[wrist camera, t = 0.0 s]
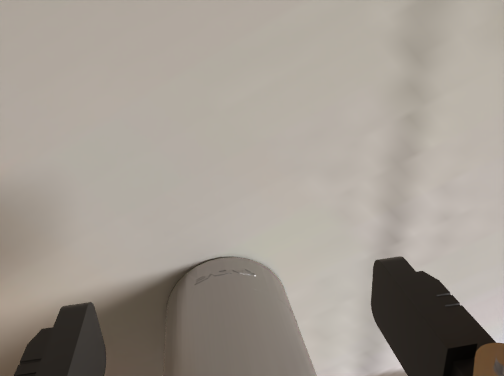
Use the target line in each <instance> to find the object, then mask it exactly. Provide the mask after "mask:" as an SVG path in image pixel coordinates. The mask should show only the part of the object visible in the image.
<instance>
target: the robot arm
mask: <svg viewBox="0 0 504 376" xmlns="http://www.w3.org/2000/svg"><path fill="white" fill-rule="evenodd" d="M371 308H372V313H373V317H374V320H375V322H376V324H377V326H378V327H379V329H380V331H381V332H382V334H383V336H384V337H385V339H386V341H387V342H388V344H389V345H390V347H391V349H392V350H393V352H394V354H395V355H396V357H397V359H398V360H399V362H400V364H401V365H402V367H403V369H404V370H405V372H406V374H407V375H408V376H504V343H496V342H495V341H494V340H493V339H492V338H491V337H490V335H489V334H488V333H487V332H486V331H485V330H484V329H483V328H482V327H481V326H480V325H479V323H478V322H477V321H476V320H475V319H474V318H473V317H472V316H471V315H470V314H469V313H468V312H467V310H466V309H465V308H464V307H463V306H462V305H461V306H460V304H459V302H458V301H457V300H456V298H455V297H454V296H453V295H450V292H449V291H448V290H447V289H446V288H445V287H444V285H443V284H442V283H441V282H440V281H439V280H437V279H435V278H434V277H432V276H430V275H429V274H427V273H425V272H423V271H419V272H416V271H415V270H414V269H413V268H412V267H411V266H410V264H409V263H408V262H407V261H406V260H405V259H404V258H403V257H394V258H387V259H380V260H376V261H375V263H374V267H373V281H372V296H371ZM105 368H106V351H105V345H104V341H103V337H102V333H101V330H100V326H99V322H98V318H97V315H96V311H95V307H94V305H93V303H91V302H90V303H83V304H76V305H69V306H63V307H62V308H61V309H60V311H59V314H58V317H57V319H56V322H55V324H54V327H52V328H46V329H42V330H41V331H40V332H39V333H38V334H37V335H36V336H35V337H34V338H33V339H32V340H31V341H30V342H29V344H28V345H27V347H26V349H25V351H24V354H23V356H22V358H21V361H20V365H18V367H17V370H16V372H15V374H14V376H104V373H105ZM163 376H317V375H316V372H315V369H314V367H313V364H312V362H311V359H310V356H309V354H308V351H307V348H306V346H305V343H304V340H303V338H302V335H301V332H300V330H299V327H298V324H297V321H296V319H295V316H294V313H293V311H292V308H291V305H290V303H289V300H288V297H287V295H286V292H285V290H284V287H283V285H282V283H281V282H280V280H279V278H278V277H277V276H276V275H275V274H274V273H273V272H272V271H271V270H270V269H269V268H267V267H265V266H264V265H262V264H261V263H258V262H255V261H253V260H250V259H245V258H238V257H228V258H219V259H215V260H210V261H208V262H205V263H203V264H201V265H198V266H196V267H195V268H193V269H192V270H190V271H189V272H188V273H186V274H185V275H184V276H183V277H182V278H181V279H180V280H179V281H178V282H177V284H176V285H175V287H174V289H173V290H172V292H171V294H170V297H169V300H168V303H167V315H166V333H165V348H164V369H163Z"/></svg>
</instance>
